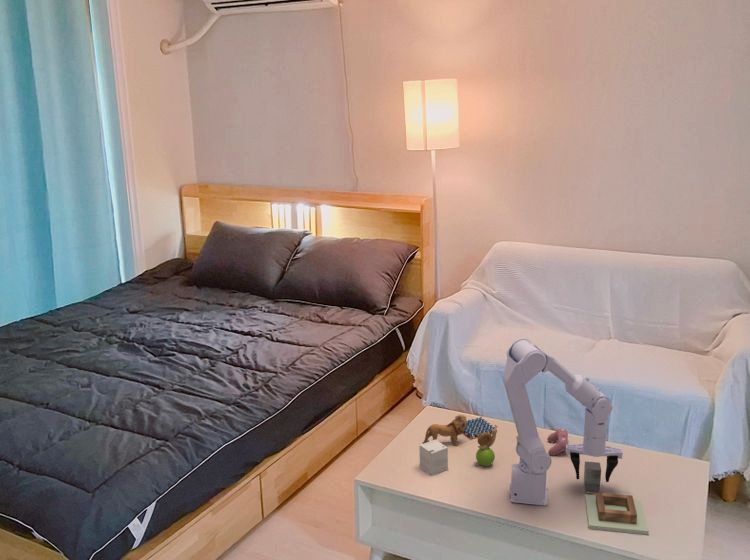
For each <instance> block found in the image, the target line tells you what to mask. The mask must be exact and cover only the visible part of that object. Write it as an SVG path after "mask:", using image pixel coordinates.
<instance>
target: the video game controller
mask: <svg viewBox="0 0 750 560" xmlns="http://www.w3.org/2000/svg"><path fill="white" fill-rule="evenodd" d="M546 439H547V442H548V443H554V442H556V443H555V445H554V446H552V447H550V448H549V450H548V452H547V453H548V454H549V455H550V456H557V455H559V454H561V453H562V452H564V451H566V445H569V440H568V439H569V433H568V431H567V430H566V429H563V428H561V427H560V428H559V429H557V430H556V431H554V432H553V433H551V434H550V435H548V436H547V438H546Z"/></svg>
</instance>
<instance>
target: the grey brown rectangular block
mask: <svg viewBox="0 0 750 560" xmlns="http://www.w3.org/2000/svg"><path fill="white" fill-rule="evenodd" d="M583 467H584V469H583V482H582V484H583V490H584V491H583V492H584V493H594V494H596V492H600V493H601V491H600V490H601V481H602V480H601V479H602V478H601V477H602V476H601V475H602V466H601V463H600V462H596V461H584V466H583Z"/></svg>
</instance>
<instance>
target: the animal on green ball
mask: <svg viewBox="0 0 750 560" xmlns="http://www.w3.org/2000/svg"><path fill="white" fill-rule="evenodd" d="M494 427H495V428H494V429H493V430H492V432H493V433H492V435H491V434H489V433H487V432H484V433H482V434H480V435H479V437H478V436H477V437H478V438H477V444H478V446H477V447H478V450H477V451H476V453H475V459H476V461H477V463H478V464H480V465H481V466H483V467H488V466H490V465H492V464H493V462H494V461H495V458H496V455H495V452H494V451H493V449H492V448H490V447H493V445H494V443H495V441H496V436H497V433H498V425H497V424H494Z"/></svg>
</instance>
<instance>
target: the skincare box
mask: <svg viewBox="0 0 750 560" xmlns="http://www.w3.org/2000/svg"><path fill="white" fill-rule="evenodd" d="M429 441H430V442H427V443H426V442H425V443H424V444H422V443H421V444H419V468H421V469H422V470H423V471H425V472H426V473H428V474H429V475H430V476H434V475H437V474H440V473H441V472H445V471H447V470H449V466H448V465H449V464H448V463H449V461H448V460H449V459H448V458H449V454H448V453H449V451H448V450H449V449H448V446H447V445H445V444H443V443H441V442H440V441H439V440H438V439H436V440H433V439H432V440H429Z"/></svg>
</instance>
